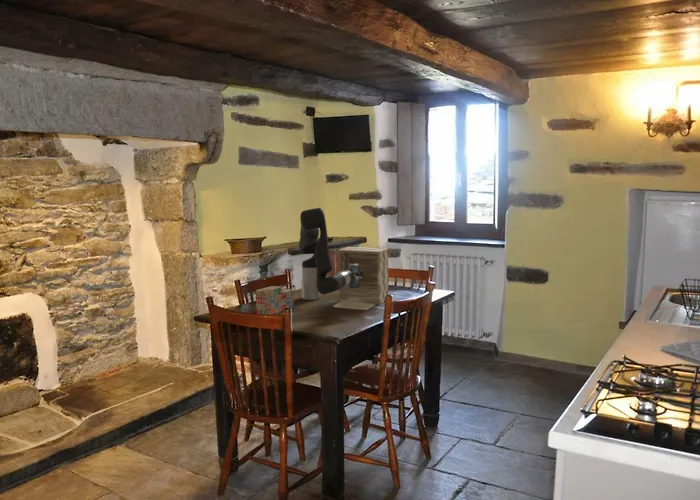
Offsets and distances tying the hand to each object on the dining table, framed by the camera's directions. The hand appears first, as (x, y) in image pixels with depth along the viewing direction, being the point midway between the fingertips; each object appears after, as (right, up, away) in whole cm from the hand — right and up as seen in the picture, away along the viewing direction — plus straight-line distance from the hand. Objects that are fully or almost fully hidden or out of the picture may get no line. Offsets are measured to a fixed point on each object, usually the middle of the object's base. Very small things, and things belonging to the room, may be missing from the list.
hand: (356, 273), depth 287 cm
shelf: (+4, -15, +12) cm, 19 cm away
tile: (-1, -16, -1) cm, 16 cm away
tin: (-1, -7, -2) cm, 7 cm away
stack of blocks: (-39, -18, -10) cm, 44 cm away
